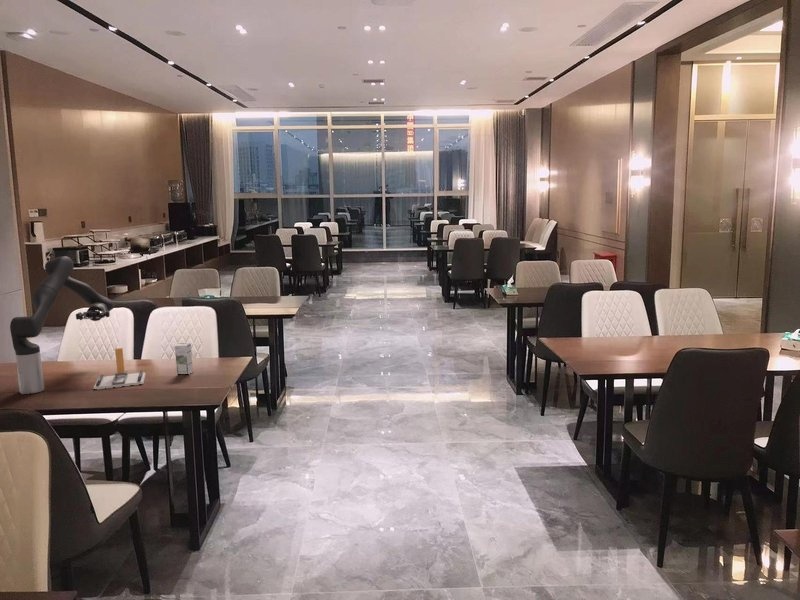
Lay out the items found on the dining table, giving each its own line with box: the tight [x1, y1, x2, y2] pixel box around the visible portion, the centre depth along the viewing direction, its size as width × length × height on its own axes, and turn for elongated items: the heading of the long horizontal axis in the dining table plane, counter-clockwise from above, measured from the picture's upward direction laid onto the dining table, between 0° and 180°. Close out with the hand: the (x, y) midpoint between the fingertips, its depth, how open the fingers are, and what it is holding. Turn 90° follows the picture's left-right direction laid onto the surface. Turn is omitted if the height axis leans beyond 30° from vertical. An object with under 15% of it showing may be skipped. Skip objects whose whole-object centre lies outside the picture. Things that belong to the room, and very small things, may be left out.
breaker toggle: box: [114, 347, 129, 375], centre depth 293 cm, size 5×3×12 cm, turn 108°
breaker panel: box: [93, 370, 146, 390], centre depth 289 cm, size 20×18×3 cm
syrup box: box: [174, 342, 194, 375], centre depth 299 cm, size 6×6×14 cm
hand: (90, 317), depth 297 cm, fingers open, 8 cm apart
